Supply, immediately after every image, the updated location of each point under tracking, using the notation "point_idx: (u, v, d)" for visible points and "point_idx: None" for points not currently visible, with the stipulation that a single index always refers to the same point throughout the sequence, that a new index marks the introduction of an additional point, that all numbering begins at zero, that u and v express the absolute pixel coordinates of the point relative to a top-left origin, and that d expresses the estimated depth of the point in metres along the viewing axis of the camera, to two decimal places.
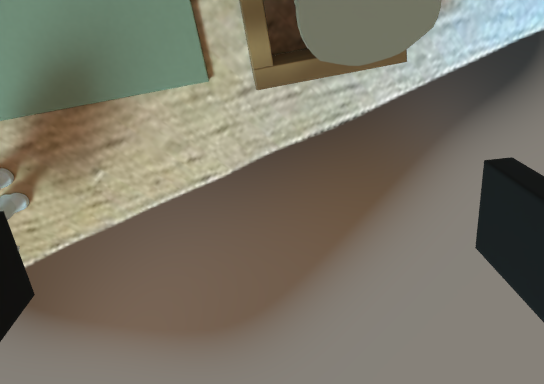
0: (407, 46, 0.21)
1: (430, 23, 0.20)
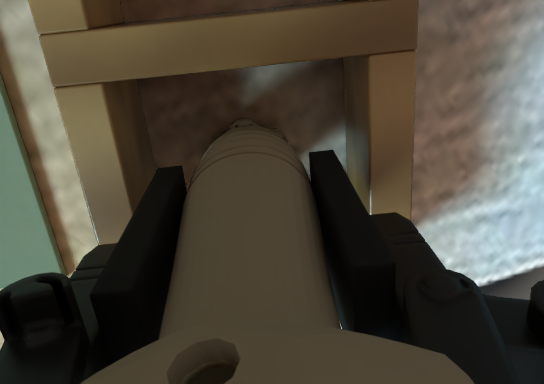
0: None
1: None
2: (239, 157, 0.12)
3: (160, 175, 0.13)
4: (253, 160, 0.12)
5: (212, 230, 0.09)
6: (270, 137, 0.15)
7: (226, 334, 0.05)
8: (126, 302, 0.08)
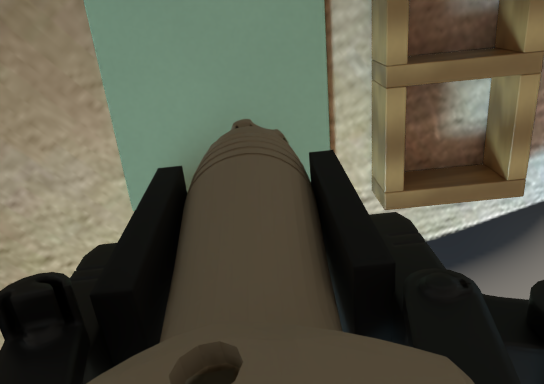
0: None
1: None
2: (240, 158, 0.12)
3: (160, 175, 0.13)
4: (253, 161, 0.12)
5: (213, 232, 0.09)
6: (270, 138, 0.15)
7: (228, 337, 0.05)
8: (126, 302, 0.08)
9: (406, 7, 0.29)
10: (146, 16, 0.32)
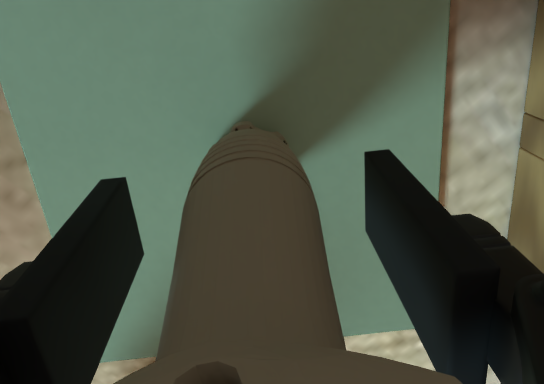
0: None
1: None
2: (239, 163, 0.12)
3: (100, 187, 0.13)
4: (253, 166, 0.12)
5: (211, 240, 0.09)
6: (270, 141, 0.14)
7: (227, 357, 0.05)
8: (22, 330, 0.08)
9: None
10: (102, 38, 0.16)
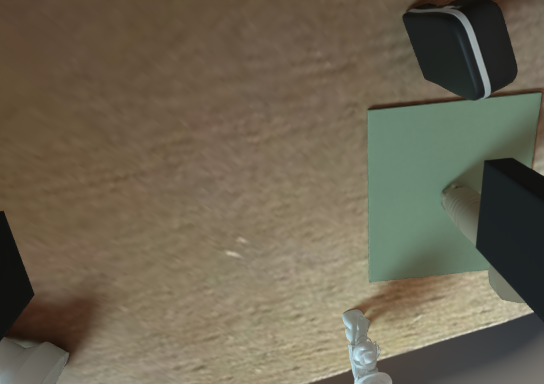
0: None
1: None
2: None
3: None
4: None
5: None
6: (479, 193, 0.43)
7: None
8: None
9: None
10: (409, 154, 0.45)
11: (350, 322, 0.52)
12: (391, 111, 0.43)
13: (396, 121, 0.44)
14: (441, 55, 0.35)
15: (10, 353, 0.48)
